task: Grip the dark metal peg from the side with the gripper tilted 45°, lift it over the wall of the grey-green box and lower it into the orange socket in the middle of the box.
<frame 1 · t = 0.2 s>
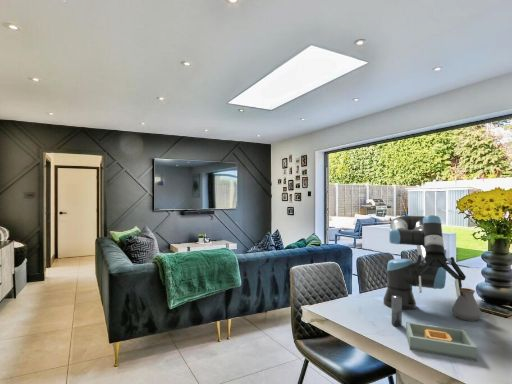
hand: (439, 293, 127), 15 cm above the table, tool tilted 35°, fingers open, 13 cm apart
coffee pot: (464, 321, 138), on the table
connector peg: (396, 324, 132), on the table
walled box: (438, 345, 113), on the table
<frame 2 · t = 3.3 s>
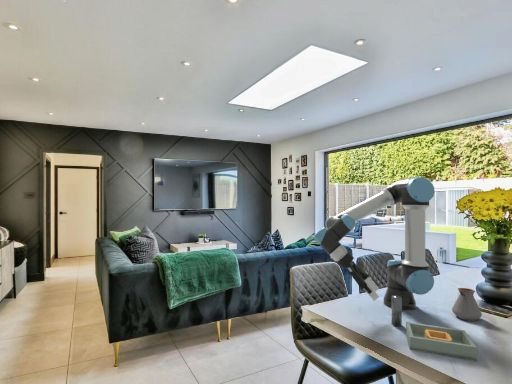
hand: (376, 294, 135), 12 cm above the table, tool tilted 45°, fingers open, 13 cm apart
nothing on the table moved.
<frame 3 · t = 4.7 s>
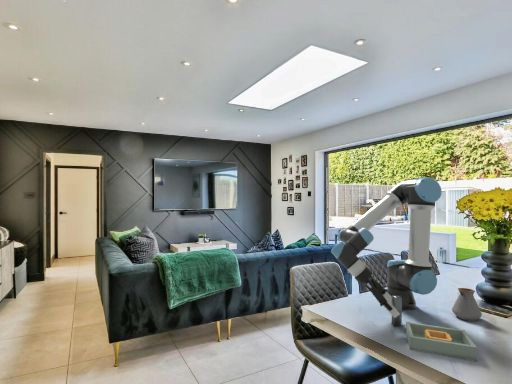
hand: (396, 310, 132), 6 cm above the table, tool tilted 45°, fingers open, 13 cm apart
nothing on the table moved.
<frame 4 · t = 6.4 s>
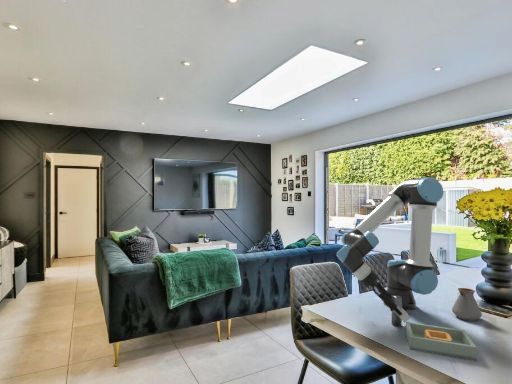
hand: (406, 318, 131), 3 cm above the table, tool tilted 45°, fingers closed on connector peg, 4 cm apart
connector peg: (396, 324, 132), on the table, touching gripper
everything else where it was.
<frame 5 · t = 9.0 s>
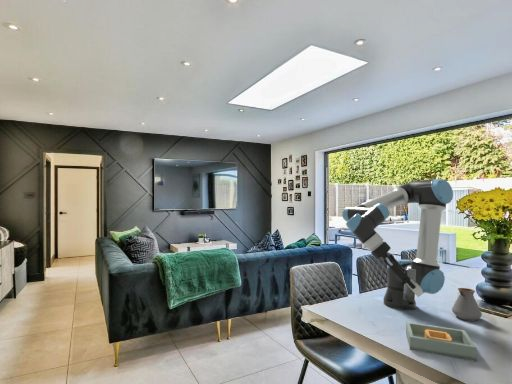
hand: (420, 293, 121), 17 cm above the table, tool tilted 45°, fingers closed on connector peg, 4 cm apart
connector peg: (409, 299, 122), point 14 cm above the table, touching gripper
everything else where it was.
when the fingers open (6 cm above the table, at t = 11.9 s): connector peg drops 1 cm, resting on walled box.
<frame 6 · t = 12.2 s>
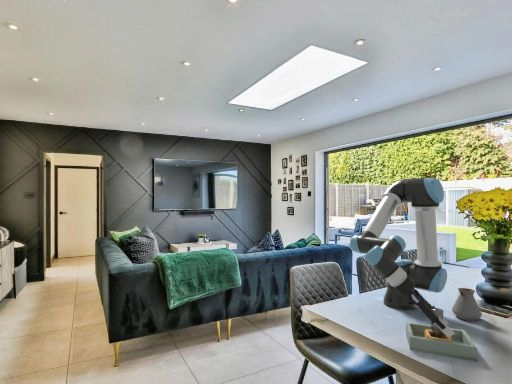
hand: (448, 330, 112), 6 cm above the table, tool tilted 45°, fingers open, 8 cm apart
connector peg: (437, 342, 113), point 1 cm above the table, touching walled box
everything else where it was.
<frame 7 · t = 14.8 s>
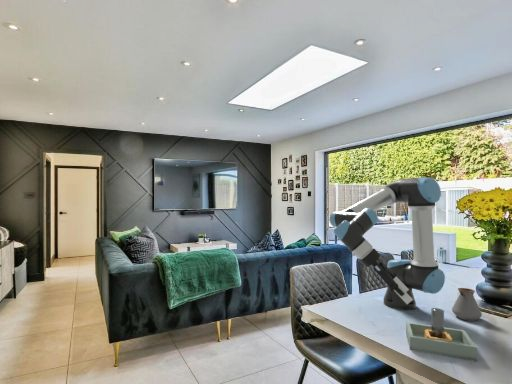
hand: (408, 296, 117), 17 cm above the table, tool tilted 45°, fingers open, 13 cm apart
nothing on the table moved.
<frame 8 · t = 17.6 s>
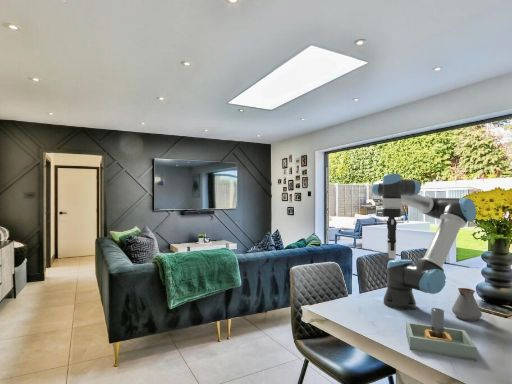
hand: (391, 255, 138), 29 cm above the table, tool pointing down, fingers open, 13 cm apart
nothing on the table moved.
at the end: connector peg 0.1 cm off-centre on the walled box, point 1.0 cm above the walled box's base; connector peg tilted 0°; the gripper is holding nothing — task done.
